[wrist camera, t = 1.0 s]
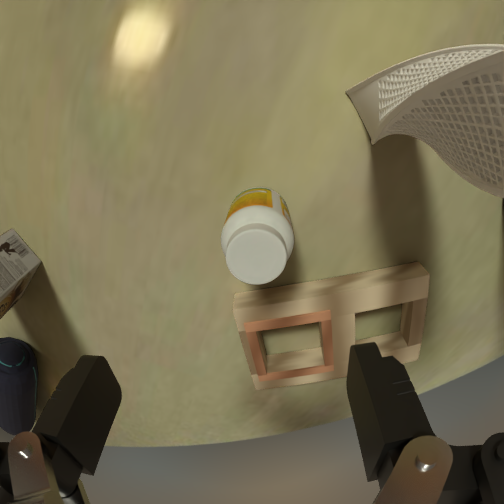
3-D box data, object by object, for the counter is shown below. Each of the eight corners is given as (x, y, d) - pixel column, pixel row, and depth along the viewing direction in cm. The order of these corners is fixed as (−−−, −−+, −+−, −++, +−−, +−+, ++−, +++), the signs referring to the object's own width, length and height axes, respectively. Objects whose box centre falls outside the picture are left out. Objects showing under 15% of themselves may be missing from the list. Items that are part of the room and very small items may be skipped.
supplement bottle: (299, 206, 29) (315, 249, 20) (266, 250, 31) (267, 307, 22) (250, 173, 28) (244, 203, 19) (218, 220, 30) (200, 268, 21)
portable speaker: (2, 315, 37) (-32, 354, 28) (50, 350, 39) (19, 395, 30) (5, 389, 46) (-15, 421, 37) (42, 415, 48) (24, 449, 39)
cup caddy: (418, 261, 31) (431, 276, 28) (410, 344, 36) (418, 361, 33) (234, 293, 33) (232, 311, 30) (256, 372, 38) (255, 391, 35)
